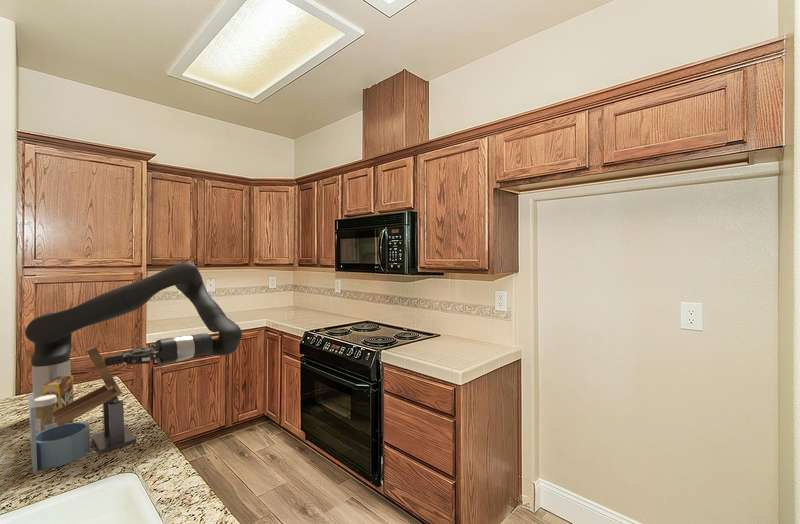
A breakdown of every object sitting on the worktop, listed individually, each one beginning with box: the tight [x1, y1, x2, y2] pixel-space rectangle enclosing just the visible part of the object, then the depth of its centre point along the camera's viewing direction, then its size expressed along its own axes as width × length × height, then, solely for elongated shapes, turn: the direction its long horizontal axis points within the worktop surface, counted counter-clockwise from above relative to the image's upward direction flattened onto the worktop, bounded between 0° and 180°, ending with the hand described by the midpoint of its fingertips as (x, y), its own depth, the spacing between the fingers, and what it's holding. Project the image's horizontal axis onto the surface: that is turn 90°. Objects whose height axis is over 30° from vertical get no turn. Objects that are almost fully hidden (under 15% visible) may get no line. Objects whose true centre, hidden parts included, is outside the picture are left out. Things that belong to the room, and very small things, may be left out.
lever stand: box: [91, 397, 137, 455], centre depth 105 cm, size 12×8×13 cm, turn 47°
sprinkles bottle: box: [34, 395, 57, 434], centre depth 103 cm, size 5×5×13 cm
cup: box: [27, 395, 91, 475], centre depth 97 cm, size 11×11×16 cm
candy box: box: [42, 374, 75, 426], centre depth 112 cm, size 9×4×15 cm, turn 20°
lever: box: [52, 345, 123, 427], centre depth 99 cm, size 6×14×16 cm, turn 137°
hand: (105, 361), depth 104 cm, fingers closed
